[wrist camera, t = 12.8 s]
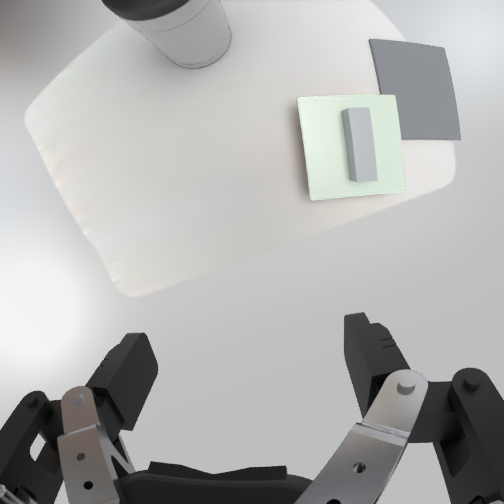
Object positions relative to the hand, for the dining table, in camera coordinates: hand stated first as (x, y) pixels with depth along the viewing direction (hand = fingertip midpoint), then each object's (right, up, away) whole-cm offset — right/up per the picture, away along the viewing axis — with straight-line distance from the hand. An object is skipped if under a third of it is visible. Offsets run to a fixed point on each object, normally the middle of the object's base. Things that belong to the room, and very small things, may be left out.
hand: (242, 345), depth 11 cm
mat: (+24, +27, +21) cm, 42 cm away
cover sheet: (+12, +16, +20) cm, 29 cm away
